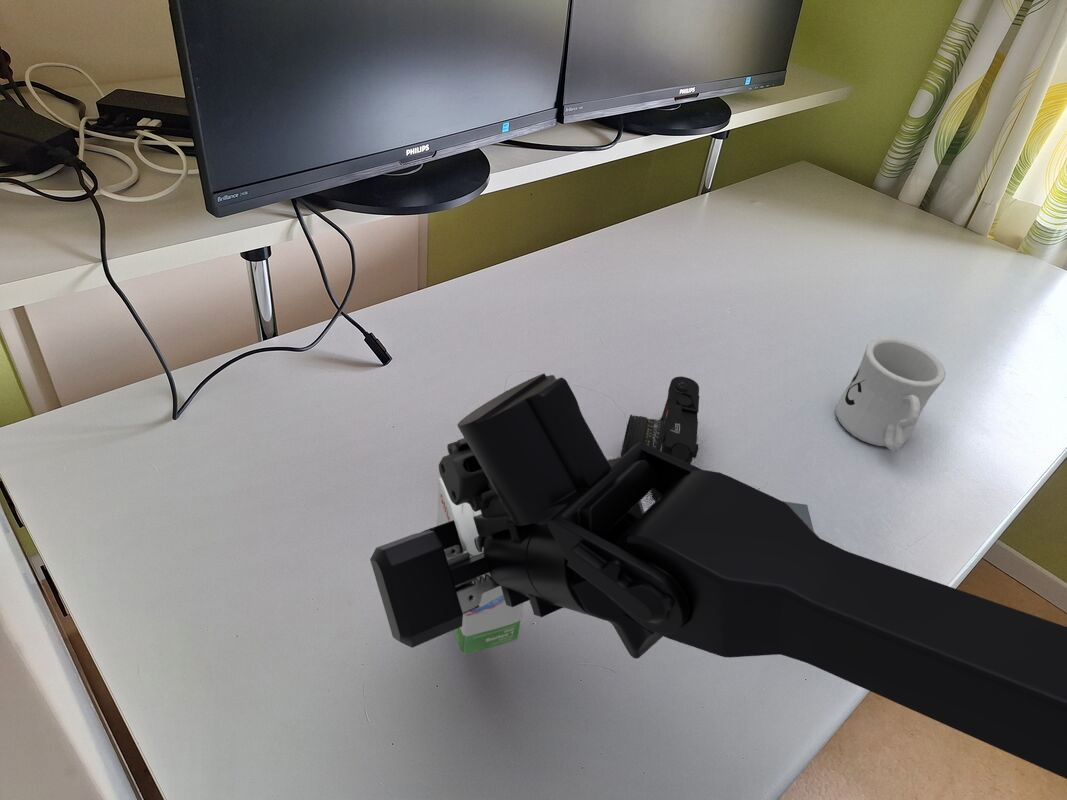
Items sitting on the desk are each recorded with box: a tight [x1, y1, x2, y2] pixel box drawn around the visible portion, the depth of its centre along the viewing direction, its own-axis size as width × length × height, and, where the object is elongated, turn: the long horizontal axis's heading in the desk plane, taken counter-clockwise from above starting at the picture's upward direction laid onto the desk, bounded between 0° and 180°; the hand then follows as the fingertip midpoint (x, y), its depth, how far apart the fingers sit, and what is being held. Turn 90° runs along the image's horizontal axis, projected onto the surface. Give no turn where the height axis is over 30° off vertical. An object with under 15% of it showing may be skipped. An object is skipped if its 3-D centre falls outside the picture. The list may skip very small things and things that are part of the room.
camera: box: [619, 376, 700, 502], centre depth 82 cm, size 14×7×8 cm, turn 169°
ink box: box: [436, 476, 524, 655], centre depth 58 cm, size 8×5×12 cm, turn 21°
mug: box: [835, 336, 947, 452], centre depth 89 cm, size 12×9×10 cm
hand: (474, 540), depth 58 cm, fingers closed on ink box, 5 cm apart
